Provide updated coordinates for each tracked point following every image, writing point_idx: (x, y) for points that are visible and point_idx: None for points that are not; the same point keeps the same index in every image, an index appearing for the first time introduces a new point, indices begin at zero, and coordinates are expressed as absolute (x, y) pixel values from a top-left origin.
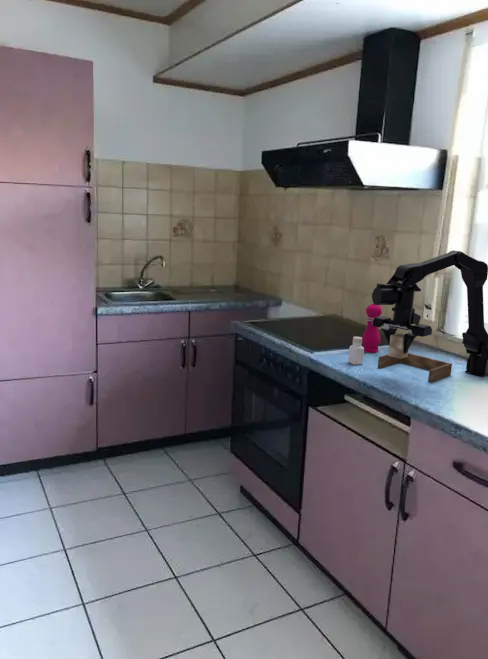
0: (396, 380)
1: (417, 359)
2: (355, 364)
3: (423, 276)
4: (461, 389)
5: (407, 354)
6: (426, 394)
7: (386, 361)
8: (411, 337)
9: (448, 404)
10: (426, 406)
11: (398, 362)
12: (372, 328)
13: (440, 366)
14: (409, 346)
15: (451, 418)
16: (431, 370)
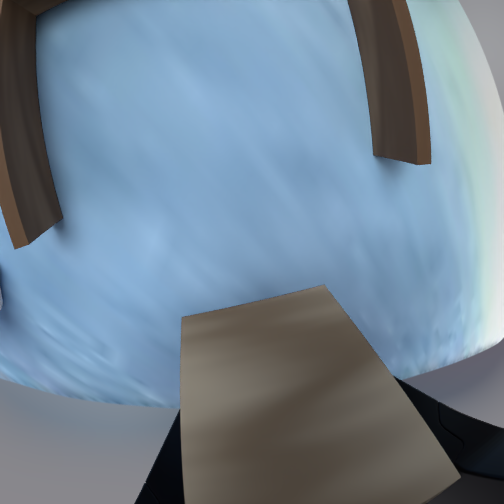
0: (271, 292)
1: None
2: (1, 297)
3: None
4: (473, 128)
5: (333, 304)
6: (426, 299)
7: (29, 157)
8: (476, 467)
9: (475, 298)
10: (441, 356)
11: (35, 25)
12: None
13: (401, 22)
14: (411, 393)
15: (479, 346)
16: (426, 162)
